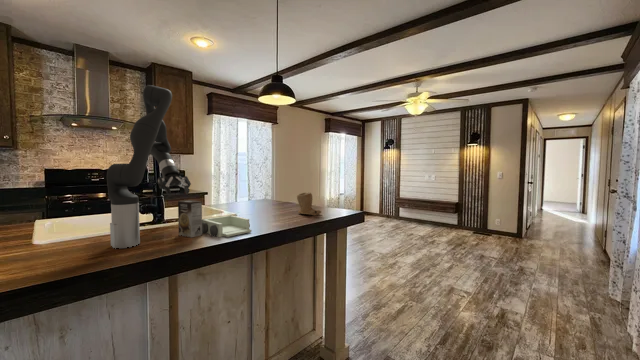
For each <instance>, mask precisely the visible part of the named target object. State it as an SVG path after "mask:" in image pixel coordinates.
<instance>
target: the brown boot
mask: <svg viewBox="0 0 640 360" xmlns="http://www.w3.org/2000/svg"><path fill="white" fill-rule="evenodd" d="M296 199H297V203H298V206H299V208H300V209H299V210H298V211H297V214H303V215H306V216H318V215H320V214H321V213H322V210H318V209H314V208H313V194H312V192H309V191H308V192H302V193H298V194H296Z"/></svg>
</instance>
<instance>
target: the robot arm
mask: <svg viewBox="0 0 640 360" xmlns="http://www.w3.org/2000/svg"><path fill="white" fill-rule="evenodd" d="M142 98H143V99H142V100H143V103H144V107H145V111H146V115H143V116H141V118H139V119H138V120H136V122H135V123H134V125H133V126H132V129H131V132H130V134H129V139H130V143H131V146H132V148H133V154H132V156H131V160H130V162H129V163H112V164H111V165H110V166H109V167H108V169H107V171H106V184H107V194H108V198H109V200H110V209H111V211H110V214H111V222H110V223H109V228H110V229H109V233H110V235H109V237H110V247H111V246H112V247H111V248H112V249H114V248H115V249H114V250H117V249H116V248H119V249H127V247H129V248H132V246H134V247H136V245H137V246H139V245H140V244H141V237H140V236H141V234H140V233H141V231H140V201H139V200H140V199H139V196H138V195H137V194H135V193H132V192H131V191H129V189H128V188H129V187H137V186H139V184H141V182H142V181H143V179H144V176H145V171H146V169H147V168H146V167H147V164H148V160H149V157H150V155H151V156H152V157H153V158H154V159H155V160H156V161H157V164H158V166H159V170H160V173H161V175H162V177H161V176H158V178H157V184H158V186H159V189H160V190H164V191H165V193H166V195H168V196H171V194H172V191H171V189H170V186H171V187H173V186H175V187H177V186H179V187H180V188H183V189H184V192H185V194H186V195H188V194H189V193H190V189H189V188H190V187H191V185H192V183H191V181H190V180H189V177H188V176H187V175H185V176H184V177H182V176H181V174H180V172H179V170H178V168H177V165H176V163H175V162H174V160H173V158H172V157H173V156H172V155H171V154H170V153H171V151H172V146H171V144H170V142H169V140H168V132H167V125H166V123H165V121H164V118H165V115H166V114H167V112H168V110H169V108H170V106H171V104H172V101H173V93H172V91H171V90H169V89H168V88H164V87H160V86H156V85H151V84H147V85H145V87H144V88H143V93H142ZM164 182H165V183H166V184H165V183H164ZM138 244H139V245H138Z"/></svg>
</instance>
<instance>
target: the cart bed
mask: <svg viewBox="0 0 640 360" xmlns="http://www.w3.org/2000/svg"><path fill="white" fill-rule="evenodd" d="M250 223H251V222H250V218H244V217H241V216H237V215H232V214H231V215H224V216H223V215H222V216H216V217H211V218H202V234H209V235H211V236H212V237H218V238H223V237H227V238H229V237H234V236H238V235H243V234H247V233H248V234H249V233H251V232H252V229H251V228H250V227H251V224H250Z"/></svg>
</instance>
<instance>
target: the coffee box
mask: <svg viewBox="0 0 640 360" xmlns="http://www.w3.org/2000/svg"><path fill="white" fill-rule="evenodd" d="M177 212H178V213H177V217H178V218H177V219H178V221H177V222H178V223H177V224H178V236H181V235H182V237H186V236H187V238H195V237H199V236H202V235H203V233H202V219H203V201H200V200H192V199H188V200H178V201H177Z"/></svg>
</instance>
